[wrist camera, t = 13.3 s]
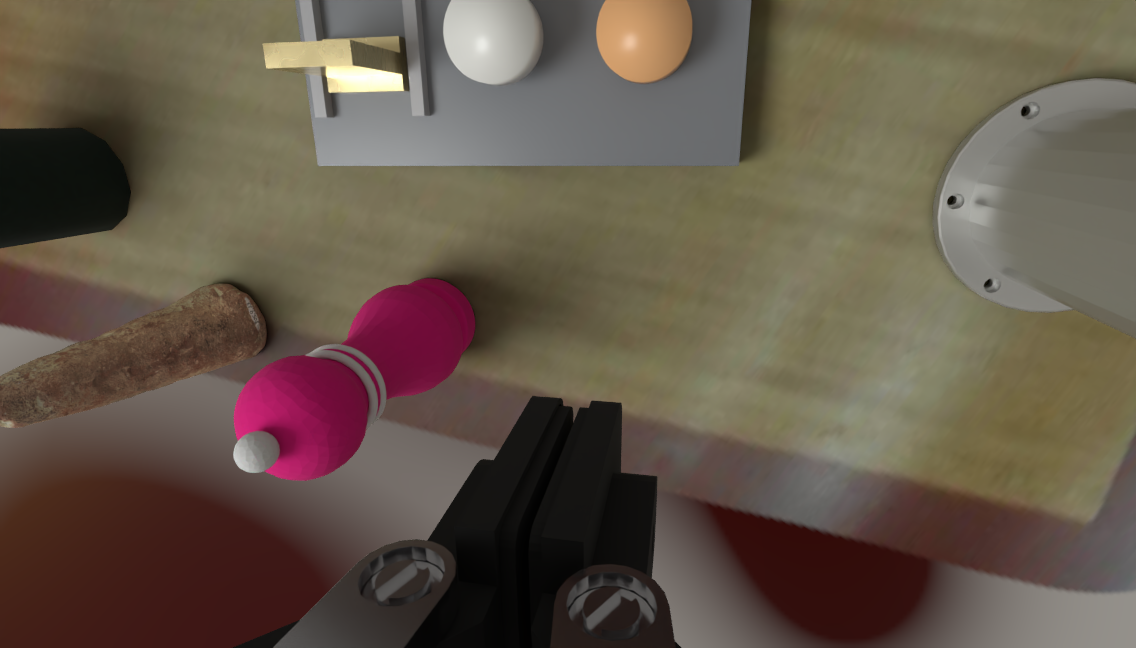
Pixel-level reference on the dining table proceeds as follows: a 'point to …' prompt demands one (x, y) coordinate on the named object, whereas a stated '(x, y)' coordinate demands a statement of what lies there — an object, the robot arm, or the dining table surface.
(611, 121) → the control panel
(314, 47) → the brass paddle
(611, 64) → the orange button
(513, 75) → the white knob
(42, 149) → the wine bottle
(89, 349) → the brown speckled elongated rod
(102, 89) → the dining table surface
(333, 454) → the pepper mill
